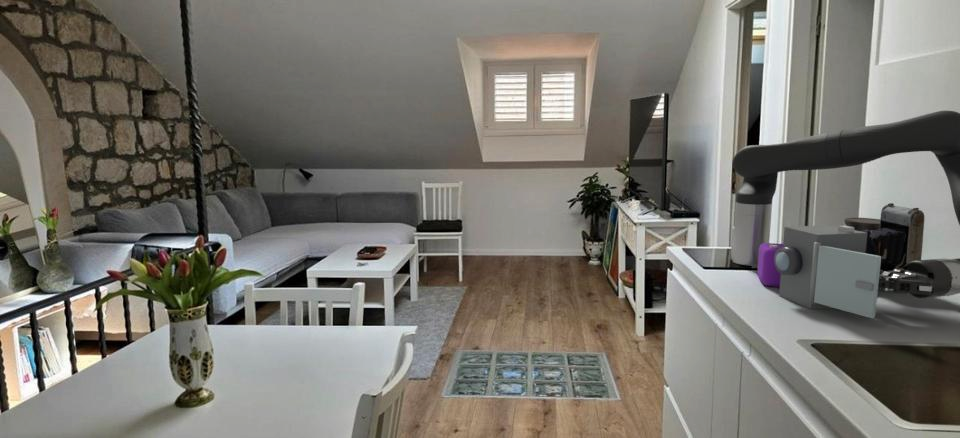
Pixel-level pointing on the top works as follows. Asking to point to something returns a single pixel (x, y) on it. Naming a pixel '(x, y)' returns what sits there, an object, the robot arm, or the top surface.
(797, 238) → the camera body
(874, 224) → the coffee can
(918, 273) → the robot arm
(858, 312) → the side door
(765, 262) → the toy camera
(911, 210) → the vintage camera
